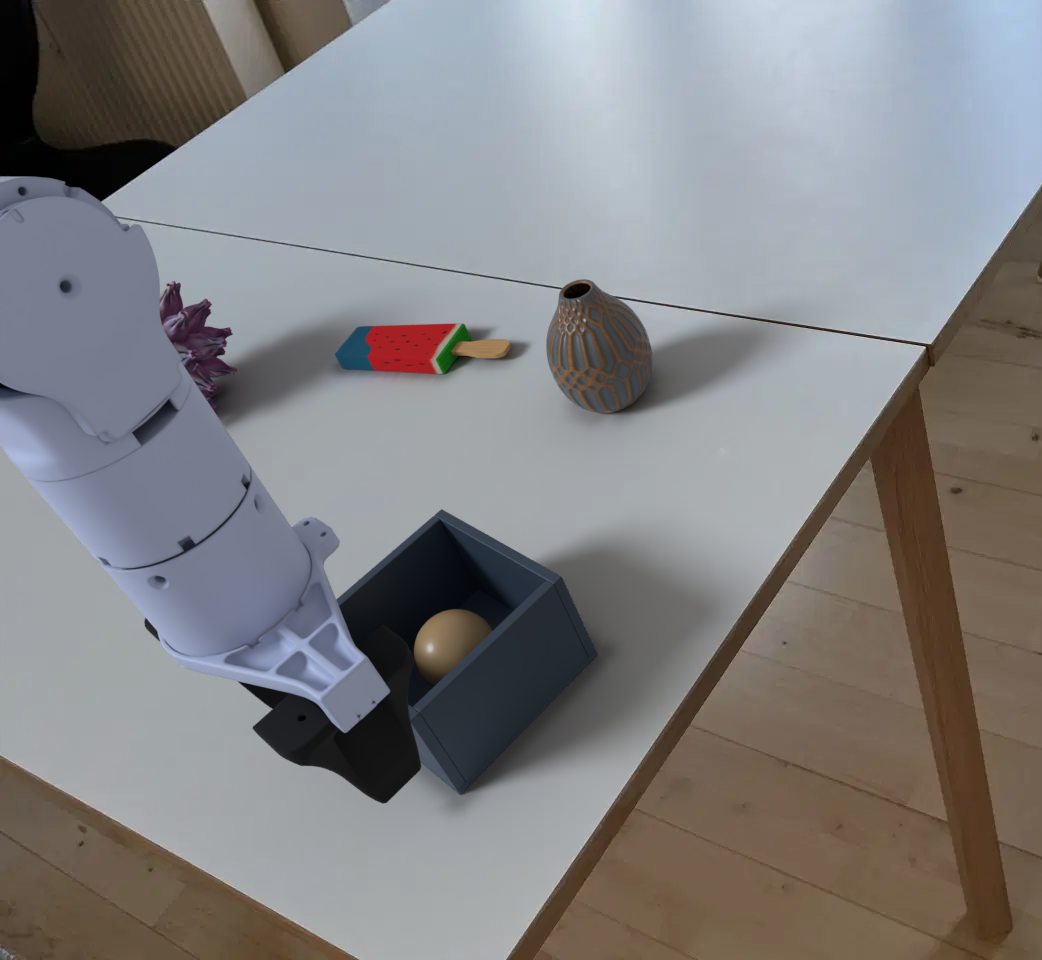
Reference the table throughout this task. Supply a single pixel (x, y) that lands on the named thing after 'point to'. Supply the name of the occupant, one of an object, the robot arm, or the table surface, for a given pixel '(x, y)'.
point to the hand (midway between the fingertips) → (346, 736)
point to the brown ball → (447, 642)
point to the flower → (195, 339)
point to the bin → (493, 665)
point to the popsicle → (414, 348)
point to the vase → (597, 349)
